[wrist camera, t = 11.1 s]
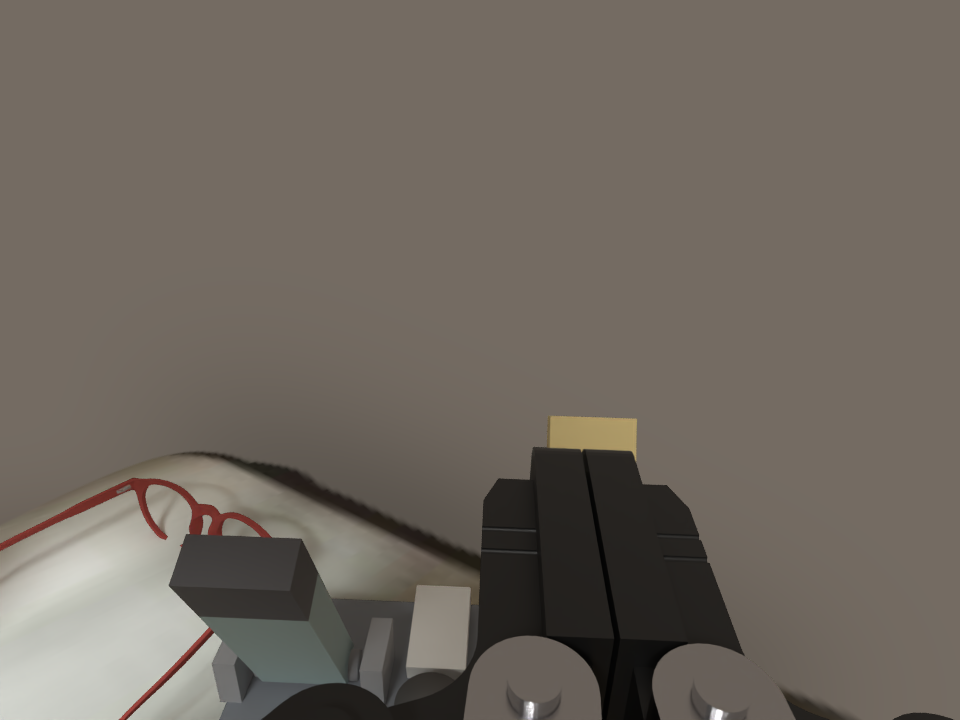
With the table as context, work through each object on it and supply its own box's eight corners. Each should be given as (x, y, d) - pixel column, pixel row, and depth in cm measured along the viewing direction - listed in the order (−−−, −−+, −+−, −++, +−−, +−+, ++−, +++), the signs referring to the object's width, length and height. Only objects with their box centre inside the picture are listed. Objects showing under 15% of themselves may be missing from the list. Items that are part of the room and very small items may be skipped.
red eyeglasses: (316, 602, 44) (309, 541, 42) (78, 830, 31) (50, 761, 29) (142, 514, 51) (127, 459, 49) (-106, 669, 39) (-140, 604, 37)
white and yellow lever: (534, 696, 31) (541, 415, 32) (532, 681, 33) (539, 415, 33) (641, 701, 31) (645, 419, 32) (633, 685, 32) (637, 418, 33)
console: (207, 847, 30) (176, 737, 27) (277, 660, 39) (260, 560, 36) (672, 873, 30) (699, 763, 26) (635, 676, 39) (651, 576, 35)
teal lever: (257, 684, 32) (156, 585, 22) (266, 645, 33) (174, 533, 23) (358, 689, 32) (302, 591, 22) (364, 649, 33) (313, 539, 23)
